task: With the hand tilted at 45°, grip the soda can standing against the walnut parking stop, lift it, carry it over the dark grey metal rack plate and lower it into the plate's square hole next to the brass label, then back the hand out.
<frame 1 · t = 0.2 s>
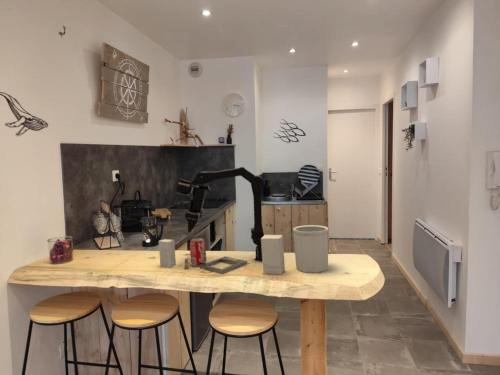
hand: (190, 230, 171), 15 cm above the breakfast bar, tool tilted 15°, fingers open, 9 cm apart
utensil holder: (311, 268, 158), on the breakfast bar
soda can: (198, 265, 168), on the breakfast bar
rack plate: (224, 266, 164), on the breakfast bar
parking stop: (186, 265, 167), on the breakfast bar
skincare box 2: (168, 266, 168), on the breakfast bar
skincare box: (273, 272, 154), on the breakfast bar
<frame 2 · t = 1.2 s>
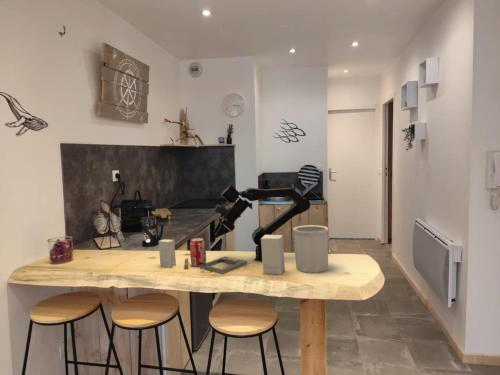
hand: (214, 235, 168), 13 cm above the breakfast bar, tool tilted 45°, fingers open, 9 cm apart
nothing on the breakfast bar moved.
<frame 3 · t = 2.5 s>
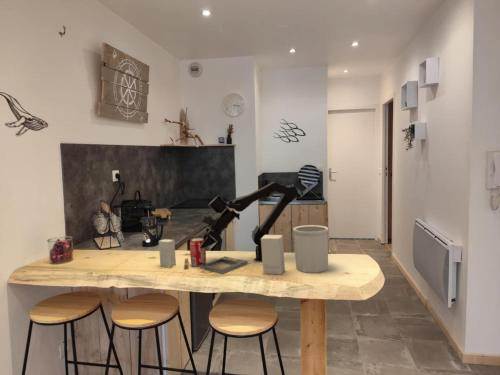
hand: (201, 245, 167), 9 cm above the breakfast bar, tool tilted 45°, fingers open, 9 cm apart
nothing on the breakfast bar moved.
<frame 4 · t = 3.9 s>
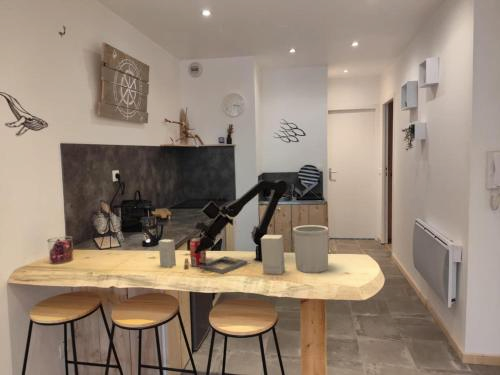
hand: (194, 251, 167), 7 cm above the breakfast bar, tool tilted 45°, fingers closed on soda can, 7 cm apart
soda can: (198, 265, 168), on the breakfast bar, touching gripper
everything else where it was.
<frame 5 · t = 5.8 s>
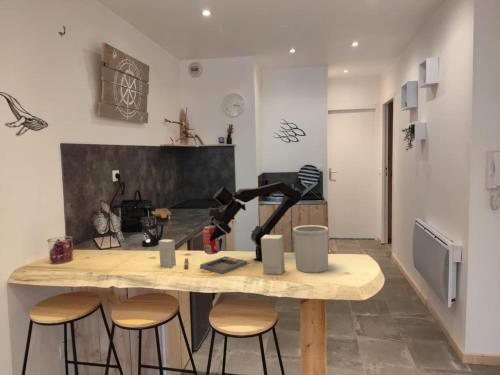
hand: (208, 239, 163), 13 cm above the breakfast bar, tool tilted 45°, fingers closed on soda can, 7 cm apart
soda can: (212, 253, 164), point 6 cm above the breakfast bar, touching gripper
everything else where it was.
when the fingers open (8 cm above the breakfast bar, at t = 7.9 s): soda can drops 1 cm, resting in rack plate.
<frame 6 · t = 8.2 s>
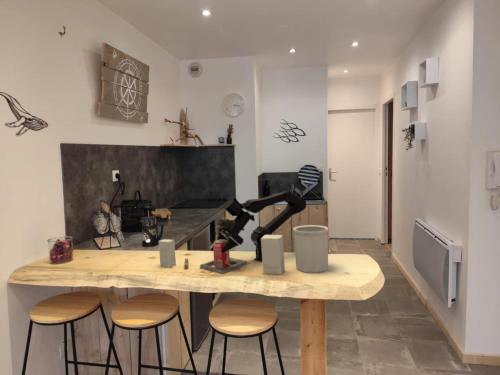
hand: (217, 250, 162), 8 cm above the breakfast bar, tool tilted 45°, fingers open, 9 cm apart
soda can: (222, 267, 163), resting in rack plate
everything else where it was.
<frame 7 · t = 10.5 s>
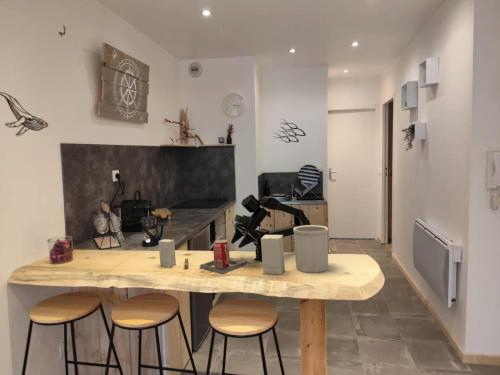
hand: (235, 245, 166), 9 cm above the breakfast bar, tool tilted 45°, fingers open, 9 cm apart
nothing on the breakfast bar moved.
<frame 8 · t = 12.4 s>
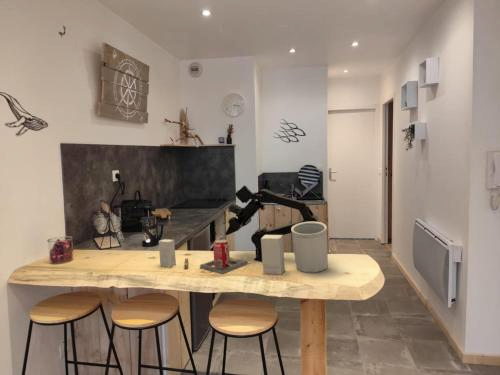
hand: (229, 232, 176), 13 cm above the breakfast bar, tool tilted 45°, fingers open, 9 cm apart
utensil holder: (311, 265, 157), point 1 cm above the breakfast bar, touching arm
everything else where it was.
at the end: soda can 0.2 cm from the target spot on the rack plate, point 0.0 cm above the rack plate's base; soda can tilted 0°; the gripper is holding nothing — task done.
